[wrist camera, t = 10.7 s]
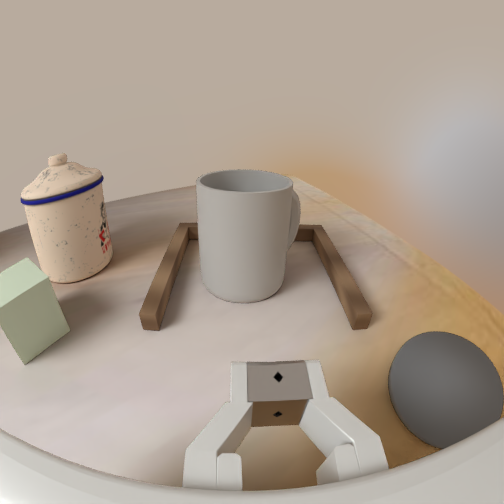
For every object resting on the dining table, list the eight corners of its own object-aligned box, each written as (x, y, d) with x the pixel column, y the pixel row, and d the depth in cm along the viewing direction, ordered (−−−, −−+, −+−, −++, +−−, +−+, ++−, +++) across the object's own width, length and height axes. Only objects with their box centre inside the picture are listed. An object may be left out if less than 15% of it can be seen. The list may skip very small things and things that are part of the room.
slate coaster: (457, 481, 8) (463, 478, 8) (358, 381, 15) (361, 376, 15) (512, 386, 12) (517, 381, 12) (434, 319, 19) (437, 314, 19)
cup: (186, 274, 25) (179, 177, 21) (268, 244, 31) (273, 163, 27) (233, 318, 21) (234, 200, 16) (319, 273, 26) (334, 180, 22)
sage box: (5, 334, 16) (-19, 284, 13) (45, 306, 20) (27, 257, 17) (25, 366, 14) (-7, 312, 11) (70, 331, 18) (48, 276, 15)
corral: (366, 328, 19) (372, 313, 19) (143, 329, 19) (139, 313, 18) (319, 236, 33) (321, 225, 33) (180, 234, 33) (179, 222, 32)
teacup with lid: (127, 265, 26) (111, 147, 21) (46, 297, 20) (11, 173, 15) (97, 229, 34) (86, 143, 28) (37, 250, 28) (18, 160, 22)
